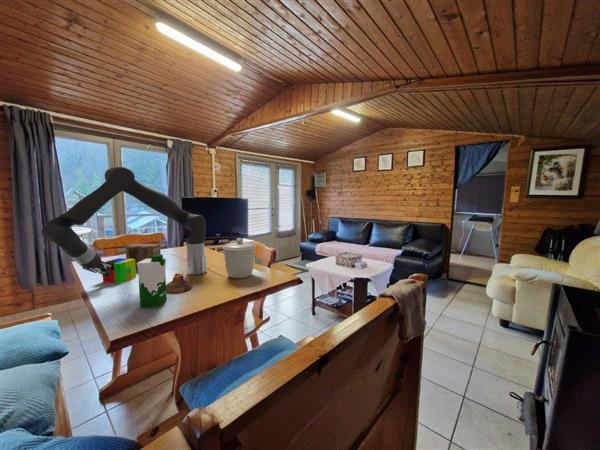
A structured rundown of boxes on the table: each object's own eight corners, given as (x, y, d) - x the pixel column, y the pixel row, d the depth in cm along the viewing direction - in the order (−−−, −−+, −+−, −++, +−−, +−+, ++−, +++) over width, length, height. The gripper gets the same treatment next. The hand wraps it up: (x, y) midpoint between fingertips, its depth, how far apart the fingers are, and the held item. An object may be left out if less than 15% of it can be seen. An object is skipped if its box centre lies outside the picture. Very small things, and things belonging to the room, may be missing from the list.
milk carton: (160, 308, 101) (158, 257, 99) (136, 308, 100) (133, 258, 98) (169, 299, 110) (167, 253, 108) (147, 300, 109) (145, 253, 107)
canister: (245, 282, 133) (245, 241, 130) (215, 278, 138) (215, 239, 136) (262, 273, 150) (262, 236, 147) (234, 270, 155) (234, 235, 153)
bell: (186, 294, 117) (185, 278, 116) (159, 293, 117) (158, 278, 116) (195, 285, 128) (195, 271, 128) (171, 285, 128) (170, 270, 127)
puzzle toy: (119, 276, 140) (118, 258, 139) (136, 277, 139) (135, 259, 138) (103, 282, 131) (101, 262, 130) (120, 283, 129) (119, 263, 128)
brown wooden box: (161, 266, 160) (160, 244, 158) (154, 270, 152) (153, 246, 151) (135, 266, 160) (133, 243, 158) (126, 270, 152) (125, 246, 151)
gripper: (104, 249, 115) (125, 268, 128) (74, 248, 115) (98, 268, 128) (96, 263, 110) (118, 282, 124) (65, 263, 110) (90, 282, 124)
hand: (107, 275), depth 126 cm, fingers closed
